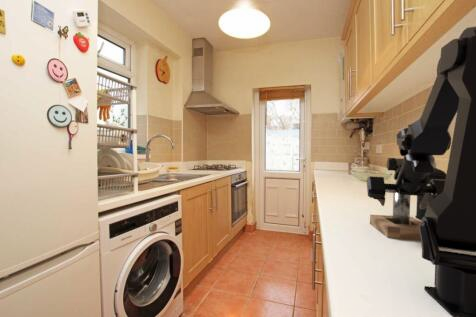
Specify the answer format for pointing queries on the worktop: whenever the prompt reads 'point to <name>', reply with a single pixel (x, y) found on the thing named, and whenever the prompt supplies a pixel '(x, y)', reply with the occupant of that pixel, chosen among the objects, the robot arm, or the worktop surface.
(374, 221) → the wooden square frame
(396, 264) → the worktop surface
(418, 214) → the aerosol can
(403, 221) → the metal pin
